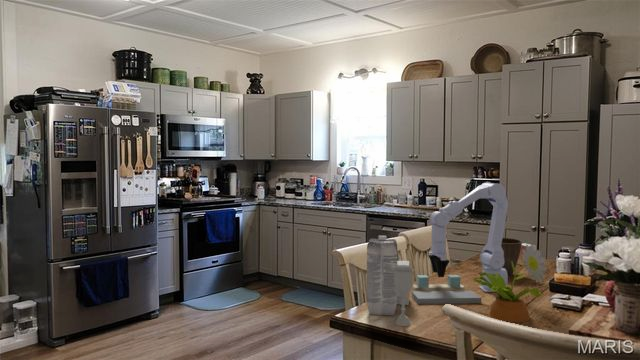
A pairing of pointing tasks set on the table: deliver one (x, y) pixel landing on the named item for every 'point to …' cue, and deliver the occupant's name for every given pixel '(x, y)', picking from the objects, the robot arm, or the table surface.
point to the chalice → (403, 290)
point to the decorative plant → (507, 302)
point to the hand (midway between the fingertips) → (438, 274)
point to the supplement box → (399, 299)
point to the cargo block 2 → (454, 280)
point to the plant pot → (510, 253)
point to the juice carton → (381, 276)
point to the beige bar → (438, 288)
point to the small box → (521, 256)
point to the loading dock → (445, 297)
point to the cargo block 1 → (422, 281)
